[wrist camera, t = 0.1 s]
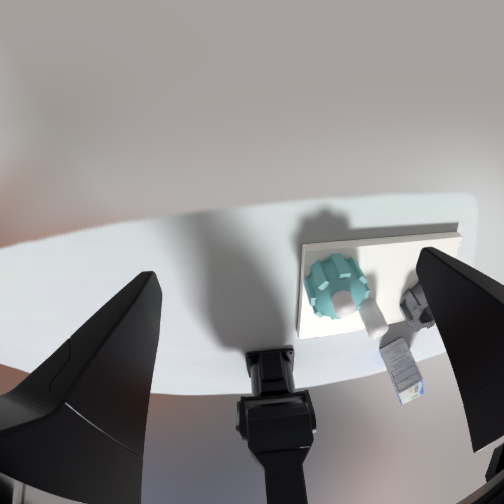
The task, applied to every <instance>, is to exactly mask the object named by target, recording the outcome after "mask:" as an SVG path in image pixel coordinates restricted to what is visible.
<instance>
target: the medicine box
mask: <svg viewBox="0 0 504 504" xmlns="http://www.w3.org/2000/svg"><path fill="white" fill-rule="evenodd" d="M380 353H381V356H382V358H383V360H384V363H385V365H386V368H387V370H388V373H389V375H390V377H391V380H392V383H393V385H394V388H395V390H396V393H397V395H398V397H399V400H400V402H401V404H405V403H407V402H409V401H411V400H413V399H415V398H417V397H418V396H420V395H421V394H423V392H424V391H423V378H422V376H421V373H420V371H419V368H418V366H417V364H416V362H415V360H414V358H413V356H412V354H411V352H410V350H409V348H408V346H407V344H406V342H405V340H404V338H403V337H401V338H399V339H398V340H396V341H394V342H392V343H390V344H388V345H387V346H385V347H383V348H381V349H380Z"/></svg>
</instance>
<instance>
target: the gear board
mask: <svg viewBox="0 0 504 504" xmlns="http://www.w3.org/2000/svg"><path fill="white" fill-rule="evenodd" d="M461 241H462V236H461V235H460V234H459V233H458V232H445V233H432V234H420V235H407V236H395V237H383V238H371V239H359V240H346V241H335V242H323V243H311V244H302V263H301V283H300V299H299V314H298V327H297V334H298V339H306V338H314V337H321V336H328V335H334V334H340V333H346V332H352V331H358V330H363V329H366V330H367V333H368V335H369V337H370V338H372V339H375V338H379V337H381V336H383V335H384V334H385V333H386V332H387V331H388V329H389V326H388V324H393V323H397V322H402V321H405V319H404V317H403V315H402V313H401V311H400V309H399V304H401V303H403V301H404V299H405V298H404V296H403V294H404V293H405V291H406V290H407V288H410V289H411V288H412V287H414V286H415V285H416V284H417V283H418V276H417V274H416V264H417V261H418V258H419V254H420V251H421V249H422V248H424V247H434V248H436V249H438V250H440V251H442V252H444V253H446V254H448V255H450V256H452V257H454V258H456V255H457V252H458V249H459V246H460V244H461Z"/></svg>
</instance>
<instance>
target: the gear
mask: <svg viewBox="0 0 504 504" xmlns="http://www.w3.org/2000/svg"><path fill="white" fill-rule="evenodd" d="M403 296H404V298H405V299H404V301H403V303H401V304H399V309H400V311H401V313H402V315H403V317H404V319H405V321H406V322H407V324H408V326H411V328H412V330H413V331H419V330H420V329H421V328H424V327H427V328H430V327H432V326H434V324H435V321H434V318H433V316H432V314H431V311H430V309H429V307H428V304H427V301H426V298H425V295H424V292H423V290H422V287H421V284H420V282H419V279H418V283H417V284H416V285H415V286H414V287H412V288H411V289H410V288H407V290H406V291H405V293H404V294H403Z"/></svg>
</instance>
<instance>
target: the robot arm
mask: <svg viewBox="0 0 504 504" xmlns="http://www.w3.org/2000/svg"><path fill="white" fill-rule="evenodd" d="M416 274H417V276H418V279H419V282H420V284H421V287H422V290H423V292H424V295H425V298H426V301H427V304H428V307H429V309H430V311H431V314H432V316H433V318H434V321H435V323H436V326H437V328H438V330H439V333H440V335H441V338H442V341H443V343H444V346H445V348H446V351H447V354H448V357H449V359H450V362H451V365H452V368H453V371H454V374H455V377H456V381H457V384H458V387H459V391H460V394H461V398H462V401H463V404H464V409H465V414H466V418H467V423H468V427H469V432H470V436H471V442H472V448H473V452H474V453H476V452H478V451H479V450H481V449H483V448H484V447H486V446H488V445H489V444H491V443H493V442H494V441H496V440H497V439H499V438H500V437H502V436H504V285H502V284H500V283H499V282H497V281H495V280H494V279H492V278H490V277H489V276H487V275H485V274H483V273H481V272H480V271H478V270H476V269H474V268H472V267H471V266H469V265H467V264H465V263H463V262H461V261H459V260H458V259H456V258H454V257H452V256H450V255H448V254H446V253H444V252H442V251H440V250H438V249H436V248H434V247H424V248H422V249H421V251H420V254H419V258H418V261H417V264H416ZM161 307H162V291H161V288H160V285H159V282H158V279H157V276H156V274H155V272H153V271H144V272H141V273H140V274H139V275H137V276H136V277H135V278H134V279H133V280H132V281H131V282H129V283H128V284H127V285H126V286H125V287H124V288H123V289H121V290H120V291H119V292H118V293H117V294H116V295H115V296H114V297H112V298H111V299H110V300H109V301H108V302H107V303H106V304H105V305H104V306H102V307H101V308H100V309H99V310H98V311H97V312H96V313H95V314H94V315H93V316H92V317H91V318H89V319H88V320H87V321H86V322H85V323H84V324H83V325H82V326H81V327H80V328H79V329H78V330H77V331H76V332H75V333H74V334H73V335H72V336H71V337H70V338H69V339H67V340H66V341H65V342H64V343H63V344H62V345H61V346H60V347H59V348H58V349H57V350H56V351H55V352H54V353H53V354H52V355H51V356H50V357H49V358H48V359H46V360H45V361H44V362H43V363H42V364H41V365H40V366H39V367H37V368H36V369H35V370H34V371H33V372H32V373H31V374H30V375H28V376H27V377H26V378H25V379H24V380H23V381H22V382H21V383H19V384H18V385H17V386H16V387H15V388H14V389H13V390H11V391H9V392H7V393H5V394H2V395H0V504H141V485H142V467H143V452H144V441H145V431H146V421H147V413H148V404H149V397H150V390H151V383H152V377H153V371H154V364H155V358H156V353H157V347H158V341H159V332H160V318H161ZM246 361H247V367H248V373H249V377H250V378H251V385H252V396H250V397H245V396H241V400H240V401H239V402H237V420H236V430H237V431H238V432H240V434H241V436H242V440H243V441H248V448H249V451H250V454H251V456H252V458H253V459H254V460H255V462H256V463H257V464H258V465H259V467H260V468H261V469H262V470H263V471H264V473H265V483H266V495H267V504H308V502H307V495H306V487H305V480H304V473H303V465H302V464H303V462H304V460H305V458H306V456H307V454H308V452H309V450H310V447H311V445H312V443H313V440H314V438H313V434H315V433H316V418H315V413H314V409H313V406H312V402H311V399H310V395H309V392H308V390H304V391H299V392H295V385H294V379H293V364H294V349H283V350H274V351H263V352H252V353H247V354H246ZM485 477H486V481H487V483H486V484H485V485H483V486H482V487H481V488H479V489H478V490H476V491H475V492H473V493H472V494H471V495H469V496H468V497H466V498H465V499H463V500H462V501H460V502H459V503H457V504H504V442H503V443H502V444H500V445H499V446H498V447H497V448H495V449H494V452H493V455H492V458H491V461H490V464H489V467H488V470H487V472H486V475H485Z"/></svg>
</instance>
